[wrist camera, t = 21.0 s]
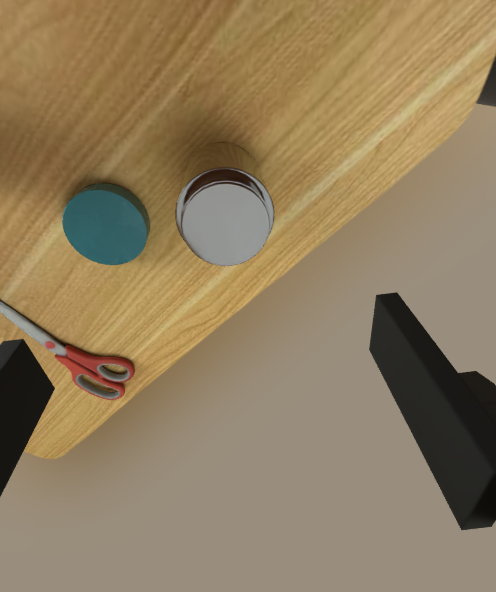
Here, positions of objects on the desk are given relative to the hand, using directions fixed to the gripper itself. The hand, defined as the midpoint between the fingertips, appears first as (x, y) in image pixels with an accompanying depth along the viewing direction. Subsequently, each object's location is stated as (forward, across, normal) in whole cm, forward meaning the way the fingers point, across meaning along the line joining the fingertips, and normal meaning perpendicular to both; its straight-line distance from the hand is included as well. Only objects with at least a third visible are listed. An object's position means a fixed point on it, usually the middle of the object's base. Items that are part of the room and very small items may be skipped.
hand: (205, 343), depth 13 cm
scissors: (+24, -23, -19) cm, 39 cm away
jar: (+24, +1, -1) cm, 24 cm away
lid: (+22, -11, -3) cm, 25 cm away
